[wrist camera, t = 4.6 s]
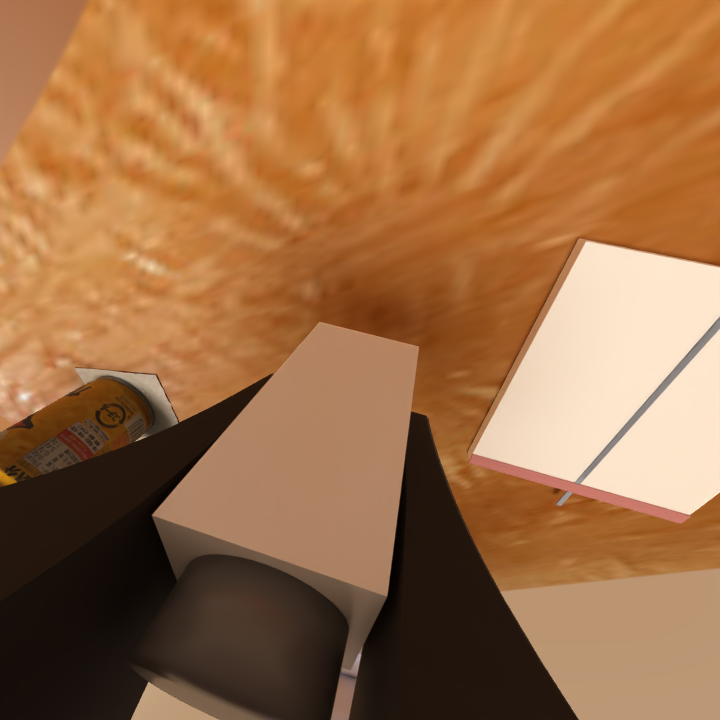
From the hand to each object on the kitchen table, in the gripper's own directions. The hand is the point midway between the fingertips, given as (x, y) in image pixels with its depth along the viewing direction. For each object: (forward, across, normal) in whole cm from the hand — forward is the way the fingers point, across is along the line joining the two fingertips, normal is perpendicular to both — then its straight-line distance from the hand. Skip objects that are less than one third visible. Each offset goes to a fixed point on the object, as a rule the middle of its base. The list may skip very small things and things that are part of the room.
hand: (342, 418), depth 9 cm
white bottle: (+2, 0, 0) cm, 2 cm away
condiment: (+9, +20, +14) cm, 26 cm away
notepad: (+9, -14, +2) cm, 17 cm away
